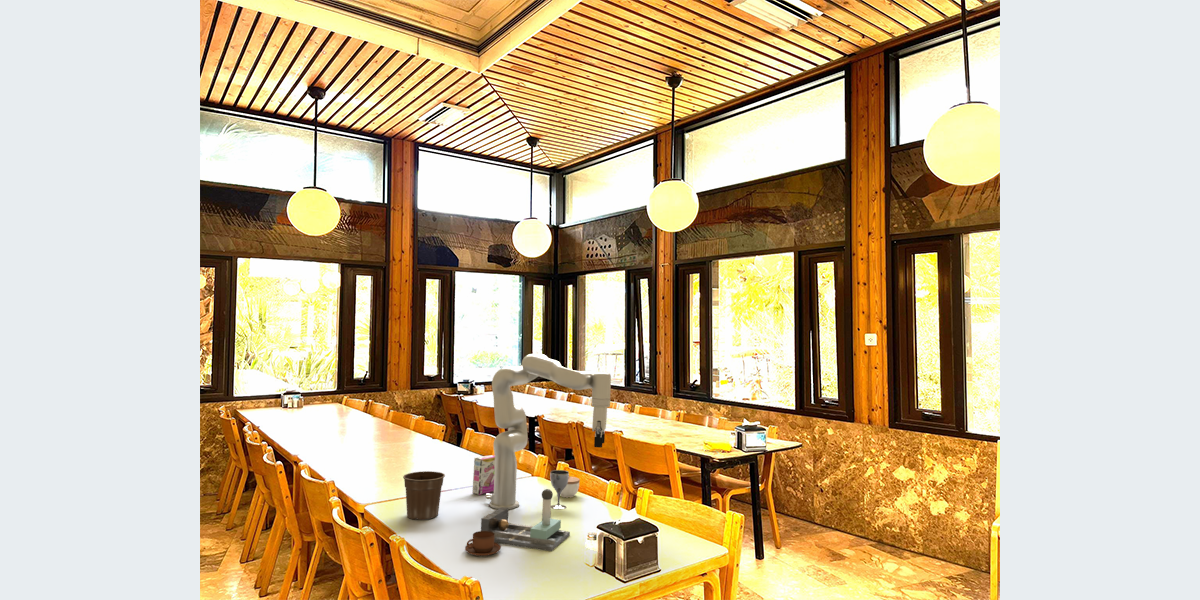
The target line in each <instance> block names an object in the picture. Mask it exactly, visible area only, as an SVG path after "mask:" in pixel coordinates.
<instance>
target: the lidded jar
mask: <svg viewBox="0 0 1200 600" xmlns="http://www.w3.org/2000/svg"><path fill="white" fill-rule="evenodd" d="M580 481H581V480H580V478H578V477H576V476H569V478H568V483H567V486H566V487H565V488H564V489H563V490H562V492H561V494H560V498H561V497H562V498H565V497H566V498H568V497H570V498H574V497H575V496H576V494H577V493H578V492H579V488H580ZM573 496H574V497H573Z"/></svg>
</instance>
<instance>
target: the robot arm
mask: <svg viewBox="0 0 1200 600" xmlns="http://www.w3.org/2000/svg"><path fill="white" fill-rule="evenodd" d="M538 377H540V378H543V379H547V380H549V381H552V382H553V383H556V384H557V385H558V386H559V385H560V386H562V387H565V388H569V389H571V390H575V391H581V390H582V391H583V390H587V389H590V390H591V407H593V413H592V427H591V429H592V432H595V433H594V439H593V440H594V441H593V443H594V444H593V448H601V449H602V448H603V444H605V440H606V436H605V435H606V434H605V431H606V429H607V418H608V416H607V415H608V413H607V412H608V408H610V407H611V386H612V384H611V383H612V377H611V373H609V372H604V371H602V372H601V371H596V372H595V371H592V370H573V369H571V368H567V367H564V366H562V364H561V362H560V361H558V360H556V359H552V358H549V357H548V356H547V354H546V355H545V354H543V353H529V354H527V355H525V356H524V357H523V359H522V360H521V365H511V366H505V367H502V368H500V369H498V370H497V371H496V372H495V373H494V375H493V377H492V381H491V389H492V394H493V395H492V396H493V408H494V409H493V411H494V421H495V425H496V426H497V427H498V428H500V429H503V430H505V429H507V430H506V431H502V432H500V433H498V435H497V436H495V438H494V440H493V451H494V452H493V453H494V454H493V455H494V456H495V472H494V492H493V494H492V493H486V494H485V500H490V502H489V505H488V506H489V507H490V508H492V509H494V510H495V509H496V510H497V509H499V508H501V507H504V508H509V510H513V509H516V508H518V507H519V505H520V502H519V501H517V500H516V498H517V497H516V494H517V471H518V461H517V456H516V452H519V451H522V450H524V449H525V448H526V446H527V445H528V426H527V425H528V423H527V414H526V412H525V409H524V408H523V407H522V406H520V405H518V404H515V403H514V395H513V392H512V390H511V387H513V386H523V385H526V384H528V383H530V382H531V381H534V380H535V379H536V378H538Z"/></svg>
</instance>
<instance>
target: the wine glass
mask: <svg viewBox="0 0 1200 600" xmlns="http://www.w3.org/2000/svg"><path fill="white" fill-rule="evenodd" d="M549 477H550V484H551V486H552V488H553V489H554V490H555V492H556V496H557V503H556V504H551V510H552V509H553V510H565V509H567V506H566V505H564V504H560V503H561V502H560V498H561V495H560V494H561V492H562V490H563V489H564V488H565V487H566V486H567V483H568V478H569V477H570V473H569V471H567V470H564V469H563V470H562V469H554V470H551V471H550V475H549Z"/></svg>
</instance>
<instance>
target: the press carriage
mask: <svg viewBox="0 0 1200 600" xmlns="http://www.w3.org/2000/svg"><path fill="white" fill-rule="evenodd" d="M541 498H542V514H541V515H542V516H541V520H540V521H539V522H538V523H536V524H535V525H533V526H534V527H532V528H531V530H530V537H531V538H538V539H545V540H546V539H547V538H549V537H550V536H551V535H552V534H554V533H555V532H556V531H558V530H561V525H562V520H561V519H558V518H557V519H556V518H555V519H554V518H551V516H552V515H551V514H552V512H551V511H552V508H551V506H552V498H553V491H552V490H551V489H549V488H546V489H545V488H544V490H542V492H541Z"/></svg>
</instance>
